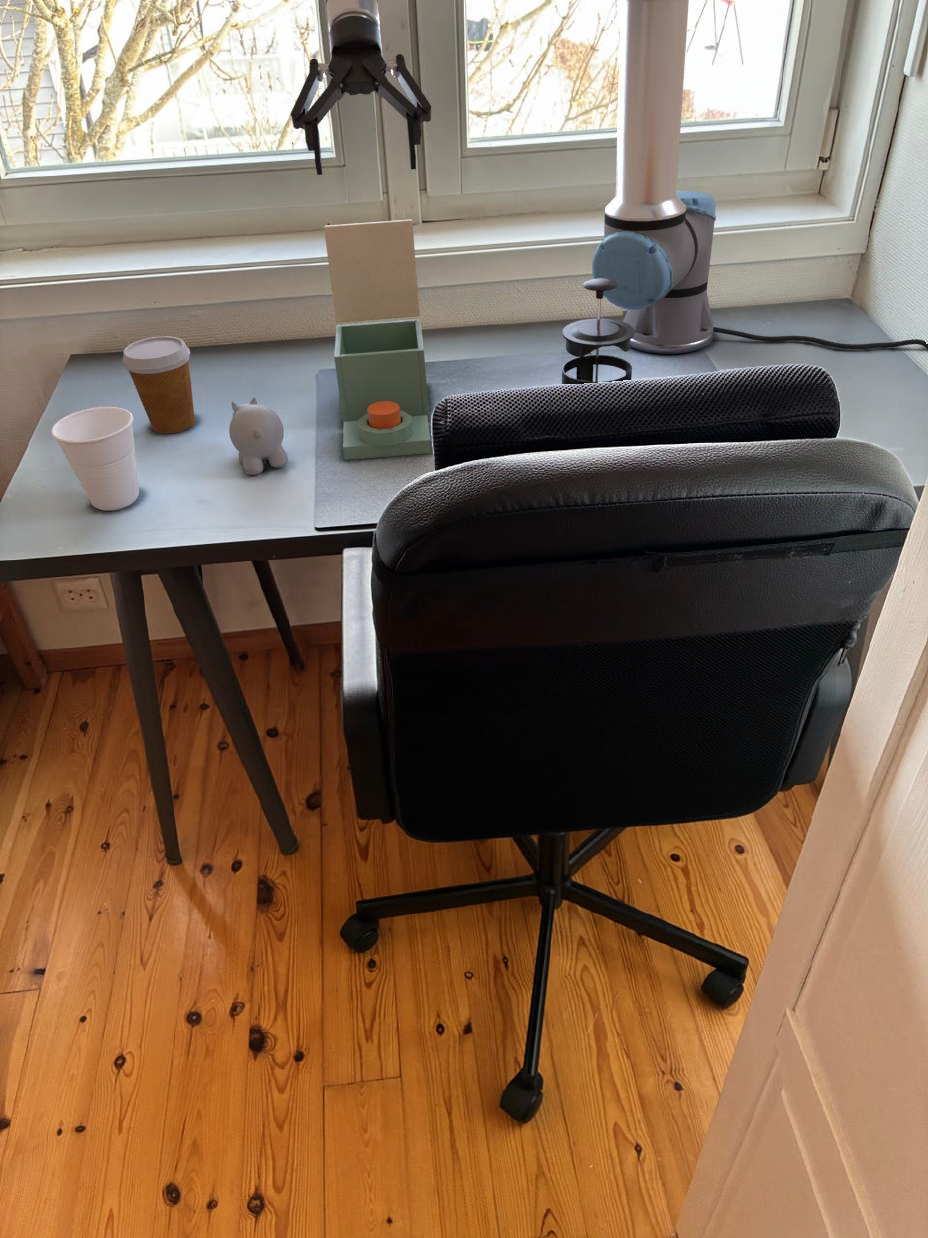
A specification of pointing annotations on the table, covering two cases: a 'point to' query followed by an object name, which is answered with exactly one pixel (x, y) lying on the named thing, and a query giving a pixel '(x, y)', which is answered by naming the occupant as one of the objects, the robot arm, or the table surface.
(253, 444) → the round bodied animal figurine
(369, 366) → the coffee maker
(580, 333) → the french press
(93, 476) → the cup
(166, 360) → the disposable coffee cup
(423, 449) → the control block
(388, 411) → the button
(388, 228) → the lid
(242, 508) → the table surface
